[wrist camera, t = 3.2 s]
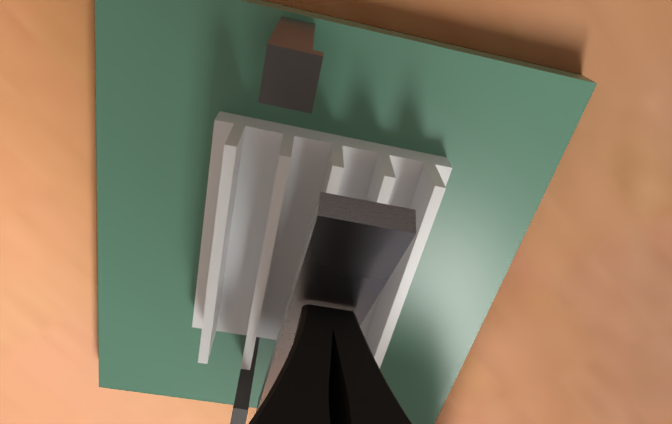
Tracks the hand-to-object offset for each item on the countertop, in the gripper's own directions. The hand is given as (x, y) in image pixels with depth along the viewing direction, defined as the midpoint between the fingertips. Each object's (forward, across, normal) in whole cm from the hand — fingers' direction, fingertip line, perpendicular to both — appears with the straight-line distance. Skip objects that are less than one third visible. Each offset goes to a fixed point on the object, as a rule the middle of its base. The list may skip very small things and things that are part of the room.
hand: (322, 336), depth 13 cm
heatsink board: (+10, 0, +4) cm, 10 cm away
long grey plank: (+2, 0, +2) cm, 3 cm away
